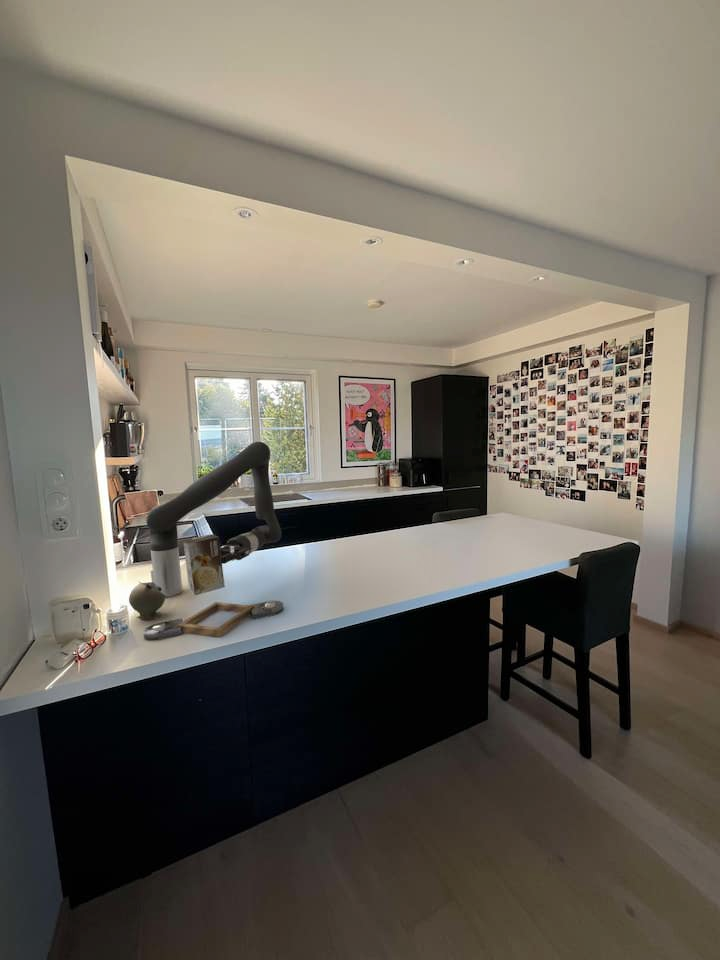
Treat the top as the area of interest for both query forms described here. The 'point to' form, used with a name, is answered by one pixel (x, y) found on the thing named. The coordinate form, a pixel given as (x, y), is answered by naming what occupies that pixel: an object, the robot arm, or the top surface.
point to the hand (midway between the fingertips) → (211, 560)
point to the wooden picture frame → (190, 628)
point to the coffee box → (203, 564)
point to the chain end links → (171, 627)
